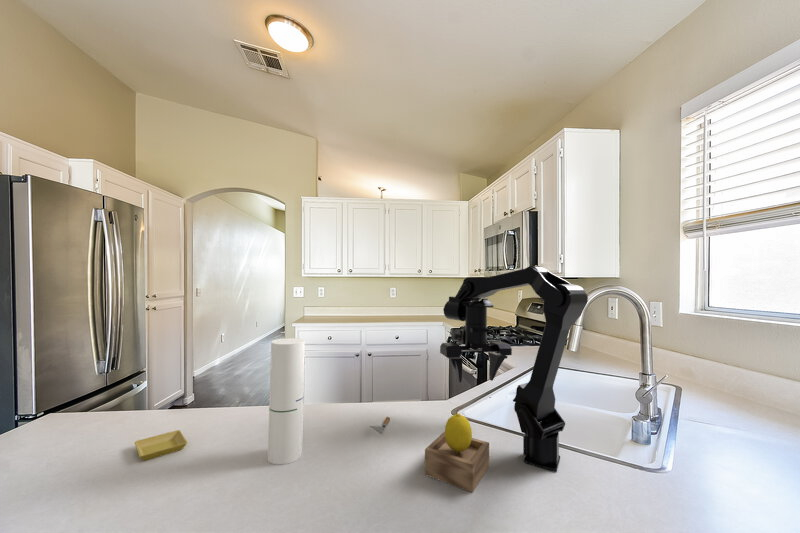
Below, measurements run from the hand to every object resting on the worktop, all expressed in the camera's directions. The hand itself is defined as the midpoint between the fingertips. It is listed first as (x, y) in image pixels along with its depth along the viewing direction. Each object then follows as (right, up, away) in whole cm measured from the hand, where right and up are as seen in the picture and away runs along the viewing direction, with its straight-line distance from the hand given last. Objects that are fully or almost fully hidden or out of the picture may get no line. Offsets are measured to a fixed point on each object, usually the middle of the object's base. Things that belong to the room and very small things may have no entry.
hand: (475, 381), depth 88 cm
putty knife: (-27, -12, -3) cm, 30 cm away
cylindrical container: (-46, -11, -16) cm, 50 cm away
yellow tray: (-75, -11, -15) cm, 77 cm away
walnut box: (-9, -11, -21) cm, 25 cm away
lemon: (-8, -8, -21) cm, 24 cm away
